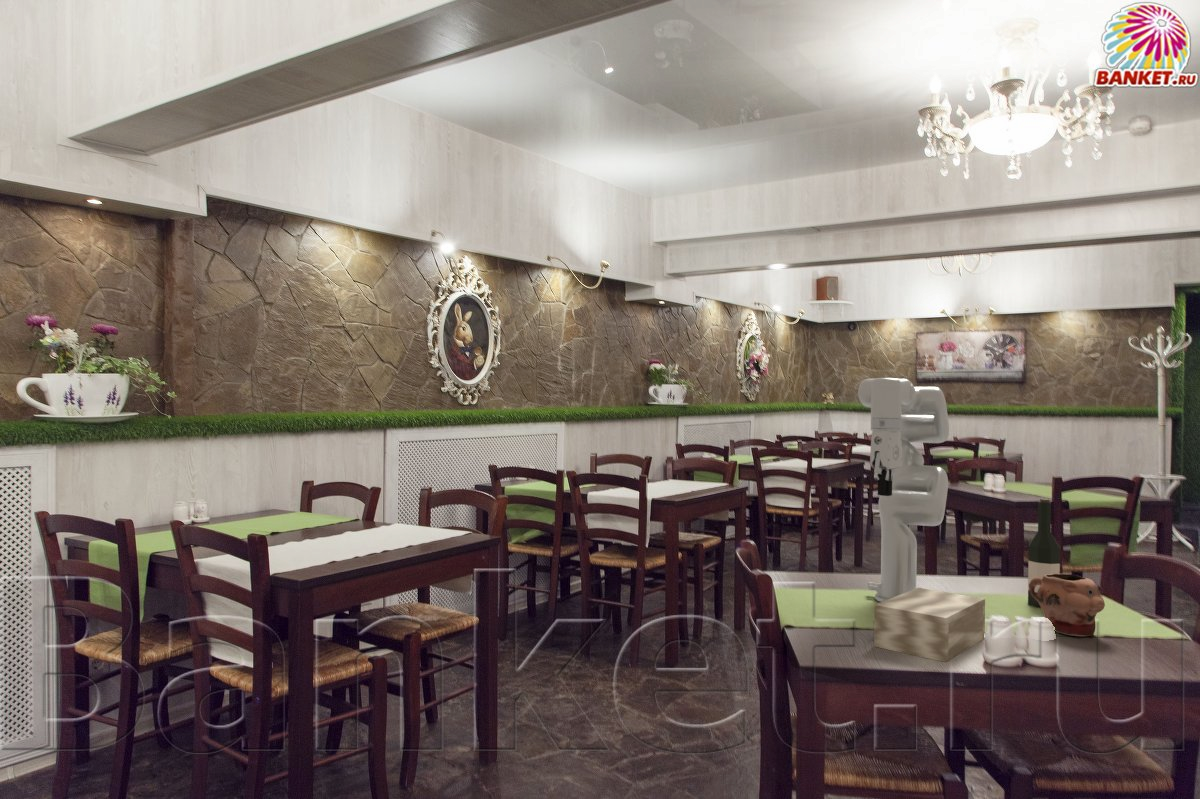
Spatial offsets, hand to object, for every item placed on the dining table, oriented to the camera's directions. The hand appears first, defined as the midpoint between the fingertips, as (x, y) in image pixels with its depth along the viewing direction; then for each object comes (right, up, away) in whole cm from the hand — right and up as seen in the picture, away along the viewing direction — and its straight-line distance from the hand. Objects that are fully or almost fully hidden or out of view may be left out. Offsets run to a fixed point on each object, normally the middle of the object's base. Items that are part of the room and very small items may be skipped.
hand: (884, 495), depth 210 cm
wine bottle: (+51, -33, +17) cm, 63 cm away
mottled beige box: (+3, -32, -21) cm, 39 cm away
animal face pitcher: (+42, -33, -9) cm, 54 cm away
